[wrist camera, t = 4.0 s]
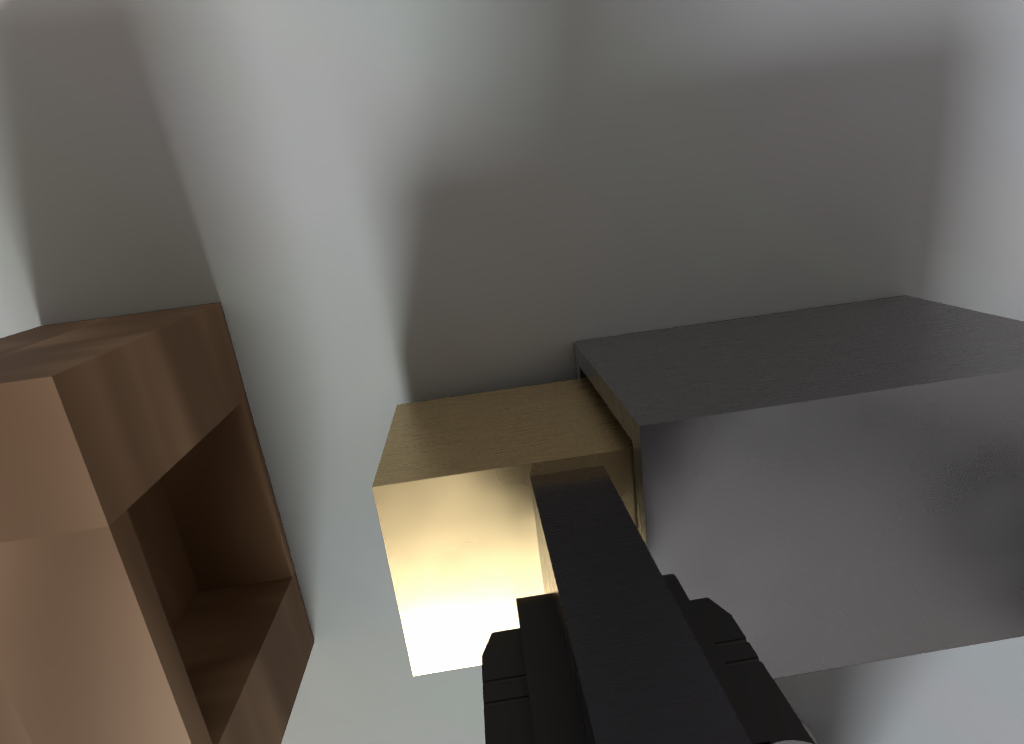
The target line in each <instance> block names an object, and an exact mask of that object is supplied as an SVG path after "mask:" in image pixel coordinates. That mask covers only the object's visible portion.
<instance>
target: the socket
mask: <svg viewBox="0 0 1024 744" xmlns="http://www.w3.org/2000/svg"><path fill="white" fill-rule="evenodd" d="M313 644H314V640H313V636H312V632H311V629H310V625H309V622H308V618H307V614H306V611H305V607H304V603H303V600H302V596H301V593H300V589H299V585H298V582H297V578H296V574H295V571H294V567H293V564H292V560H291V556H290V553H289V549H288V546H287V542H286V538H285V535H284V531H283V527H282V524H281V520H280V517H279V513H278V509H277V506H276V502H275V498H274V495H273V491H272V488H271V484H270V480H269V477H268V473H267V470H266V466H265V462H264V459H263V455H262V451H261V448H260V444H259V441H258V437H257V433H256V430H255V426H254V422H253V419H252V415H251V412H250V408H249V404H248V401H247V397H246V393H245V390H244V386H243V383H242V379H241V375H240V372H239V368H238V365H237V361H236V357H235V354H234V350H233V346H232V343H231V339H230V336H229V332H228V328H227V325H226V321H225V317H224V314H223V310H222V307H221V303H220V302H219V303H212V304H204V305H197V306H189V307H182V308H174V309H167V310H159V311H152V312H144V313H137V314H129V315H122V316H114V317H107V318H99V319H92V320H84V321H77V322H69V323H62V324H54V325H47V326H40V327H36V328H33V329H30V330H27V331H23V332H20V333H17V334H14V335H10V336H7V337H4V338H1V339H0V744H281V742H282V739H283V736H284V733H285V730H286V727H287V723H288V720H289V717H290V714H291V711H292V708H293V705H294V702H295V699H296V696H297V693H298V690H299V687H300V684H301V681H302V678H303V675H304V672H305V669H306V666H307V663H308V660H309V656H310V653H311V650H312V647H313Z"/></svg>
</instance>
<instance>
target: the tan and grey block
mask: <svg viewBox="0 0 1024 744" xmlns="http://www.w3.org/2000/svg"><path fill="white" fill-rule="evenodd" d="M372 488H373V493H374V498H375V502H376V507H377V511H378V516H379V521H380V525H381V530H382V534H383V539H384V544H385V548H386V553H387V557H388V562H389V567H390V571H391V576H392V580H393V585H394V590H395V594H396V599H397V603H398V608H399V613H400V617H401V622H402V626H403V631H404V636H405V640H406V645H407V649H408V654H409V659H410V663H411V668H412V672H413V676H416V675H422V674H428V673H434V672H440V671H446V670H452V669H458V668H465V667H471V666H477V665H482V657H481V656H482V653H483V651H484V649H485V647H486V644H487V642H488V640H489V637H490V635H491V633H492V632H497V631H503V630H509V629H516V628H520V626H519V619H518V612H517V605H516V598H523V597H529V596H535V595H541V594H547V593H552V596H553V600H554V604H555V608H556V613H557V617H558V621H559V626H560V630H561V634H562V639H563V643H564V647H565V652H566V656H567V660H568V665H569V669H570V673H571V678H572V682H573V686H574V691H575V695H576V699H577V704H578V708H579V712H580V717H581V721H582V725H583V729H584V734H585V738H586V742H587V744H752V743H751V741H750V739H749V737H748V736H747V734H746V732H745V730H744V728H743V726H742V724H741V722H740V721H739V719H738V717H737V715H736V713H735V711H734V709H733V707H732V706H731V704H730V702H729V700H728V698H727V696H726V694H725V692H724V691H723V689H722V687H721V685H720V683H719V681H718V679H717V677H716V676H715V674H714V672H713V670H712V668H711V666H710V664H709V662H708V661H707V659H706V657H705V655H704V653H703V651H702V649H701V647H700V646H699V644H698V642H697V640H696V638H695V636H694V634H693V632H692V631H691V629H690V627H689V625H688V623H687V621H686V619H685V617H684V616H683V614H682V612H681V610H680V608H679V606H678V604H677V602H676V601H675V599H674V597H673V595H672V593H671V591H670V589H669V587H668V586H667V584H666V582H665V580H664V578H663V576H662V574H661V572H660V571H659V569H658V567H657V565H656V563H655V561H654V559H653V557H652V556H651V554H650V552H649V550H648V548H647V546H646V544H645V542H644V541H643V539H642V537H641V535H640V533H639V531H638V518H637V502H636V487H635V471H634V455H633V441H632V440H631V439H630V437H629V436H628V434H627V433H626V431H625V430H624V429H623V427H622V426H621V424H620V423H619V422H618V420H617V419H616V417H615V416H614V414H613V413H612V412H611V410H610V409H609V407H608V406H607V405H606V403H605V402H604V400H603V399H602V397H601V396H600V395H599V393H598V392H597V390H596V389H595V387H594V386H593V385H592V383H591V382H590V380H589V379H588V378H581V379H574V380H567V381H560V382H553V383H546V384H539V385H532V386H525V387H518V388H511V389H504V390H497V391H490V392H483V393H476V394H469V395H462V396H456V397H449V398H442V399H435V400H428V401H421V402H414V403H407V404H400V405H397V407H396V411H395V414H394V417H393V420H392V424H391V427H390V430H389V434H388V437H387V440H386V443H385V447H384V450H383V453H382V457H381V460H380V463H379V467H378V470H377V473H376V476H375V480H374V483H373V486H372Z"/></svg>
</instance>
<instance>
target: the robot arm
mask: <svg viewBox="0 0 1024 744" xmlns="http://www.w3.org/2000/svg"><path fill="white" fill-rule="evenodd" d="M662 576H663V578H664V580H665V582H666V584H667V586H668V587H669V589H670V591H671V593H672V595H673V597H674V599H675V601H676V602H677V604H678V606H679V608H680V610H681V612H682V614H683V616H684V617H685V619H686V621H687V623H688V625H689V627H690V629H691V631H692V632H693V634H694V636H695V638H696V640H697V642H698V644H699V646H700V647H701V649H702V651H703V653H704V655H705V657H706V659H707V661H708V662H709V664H710V666H711V668H712V670H713V672H714V674H715V676H716V677H717V679H718V681H719V683H720V685H721V687H722V689H723V691H724V692H725V694H726V696H727V698H728V700H729V702H730V704H731V706H732V707H733V709H734V711H735V713H736V715H737V717H738V719H739V721H740V722H741V724H742V726H743V728H744V730H745V732H746V734H747V736H748V737H749V739H750V741H751V743H752V744H815V742H814V741H813V739H812V738H811V737H810V735H809V734H808V732H807V731H806V729H805V728H804V726H803V725H802V723H801V721H800V720H799V718H798V717H797V715H796V714H795V712H794V711H793V709H792V708H791V706H790V705H789V703H788V701H787V700H786V698H785V697H784V695H783V694H782V692H781V691H780V689H779V688H778V686H777V684H776V683H775V681H774V680H773V678H772V677H771V675H770V674H769V672H768V671H767V669H766V668H765V666H764V664H763V663H762V662H760V661H759V657H758V655H757V654H756V652H755V651H754V649H753V647H752V646H751V644H750V643H749V642H747V640H746V637H745V635H744V634H743V632H742V630H741V629H740V627H739V626H738V624H737V623H736V621H735V620H734V618H733V617H732V615H731V614H730V613H728V612H727V611H726V610H724V609H723V608H722V607H720V606H719V605H718V604H716V603H715V602H714V601H712V600H711V599H710V598H708V597H707V598H700V599H694V600H689V598H688V596H687V594H686V593H685V591H684V589H683V587H682V586H681V584H680V582H679V580H678V579H677V577H676V576H675V575H674V574H667V575H662ZM516 605H517V612H518V619H519V626H520V628H516V629H509V630H503V631H497V632H492V633H491V635H490V637H489V640H488V642H487V644H486V647H485V649H484V651H483V653H482V656H481V657H482V678H483V699H484V720H485V741H486V744H587V742H586V738H585V734H584V729H583V725H582V721H581V717H580V712H579V708H578V704H577V699H576V695H575V691H574V686H573V682H572V678H571V673H570V669H569V665H568V660H567V656H566V652H565V647H564V643H563V639H562V634H561V630H560V626H559V621H558V617H557V613H556V608H555V604H554V600H553V596H552V593H547V594H541V595H535V596H529V597H523V598H516Z"/></svg>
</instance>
